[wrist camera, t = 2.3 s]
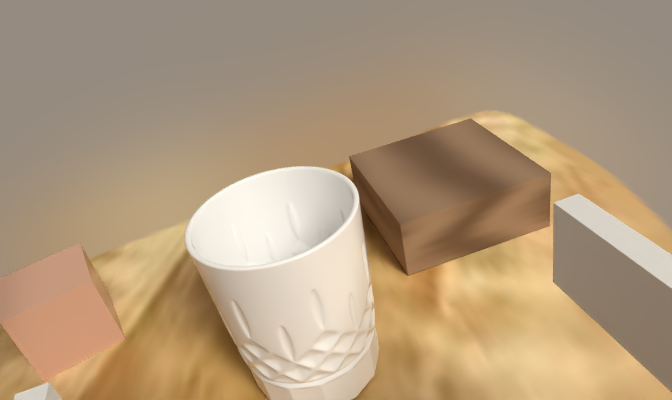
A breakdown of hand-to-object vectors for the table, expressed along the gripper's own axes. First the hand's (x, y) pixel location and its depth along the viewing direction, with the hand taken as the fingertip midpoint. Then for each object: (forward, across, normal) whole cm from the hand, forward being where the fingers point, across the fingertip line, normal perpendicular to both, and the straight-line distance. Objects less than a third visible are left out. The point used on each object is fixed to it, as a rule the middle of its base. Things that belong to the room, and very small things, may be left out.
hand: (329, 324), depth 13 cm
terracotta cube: (+20, -14, -12) cm, 27 cm away
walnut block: (+20, +12, -12) cm, 26 cm away
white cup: (+11, 0, -12) cm, 16 cm away
